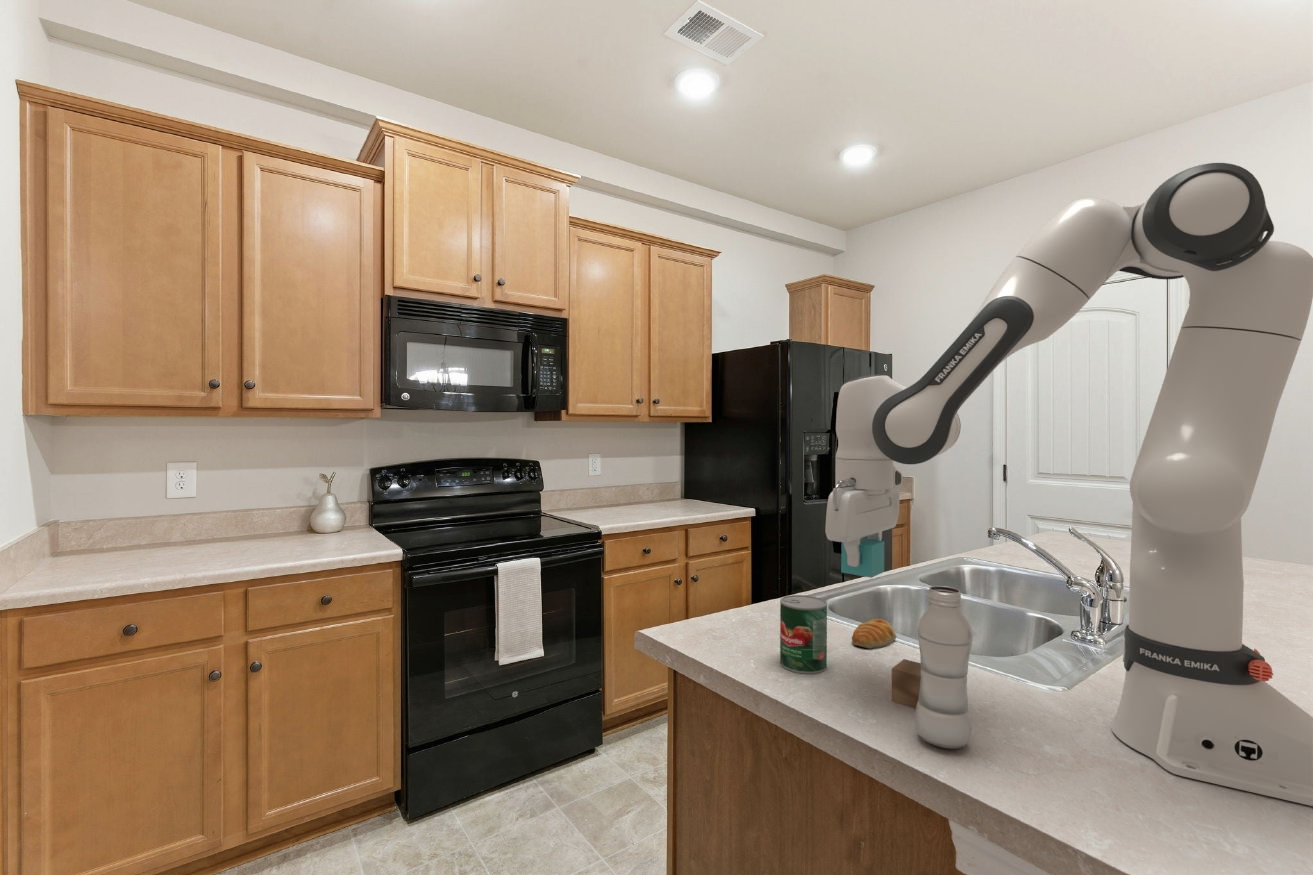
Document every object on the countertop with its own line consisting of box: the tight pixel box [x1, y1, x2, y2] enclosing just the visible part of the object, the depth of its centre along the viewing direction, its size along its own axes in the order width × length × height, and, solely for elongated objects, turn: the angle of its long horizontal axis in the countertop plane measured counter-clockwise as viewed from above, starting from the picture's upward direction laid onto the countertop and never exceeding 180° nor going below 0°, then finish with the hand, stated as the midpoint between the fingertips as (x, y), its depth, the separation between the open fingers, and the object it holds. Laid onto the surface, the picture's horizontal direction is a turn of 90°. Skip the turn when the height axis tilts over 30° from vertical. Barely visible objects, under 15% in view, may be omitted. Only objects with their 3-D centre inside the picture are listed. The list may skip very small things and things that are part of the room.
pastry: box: [851, 618, 897, 650], centre depth 116 cm, size 9×7×4 cm
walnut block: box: [890, 658, 921, 709], centre depth 91 cm, size 5×5×5 cm
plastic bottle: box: [914, 585, 974, 750], centre depth 79 cm, size 6×7×20 cm
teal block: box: [840, 537, 885, 578], centre depth 98 cm, size 5×5×5 cm
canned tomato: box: [779, 594, 828, 675], centre depth 105 cm, size 8×8×11 cm
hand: (863, 562), depth 98 cm, fingers closed on teal block, 5 cm apart
